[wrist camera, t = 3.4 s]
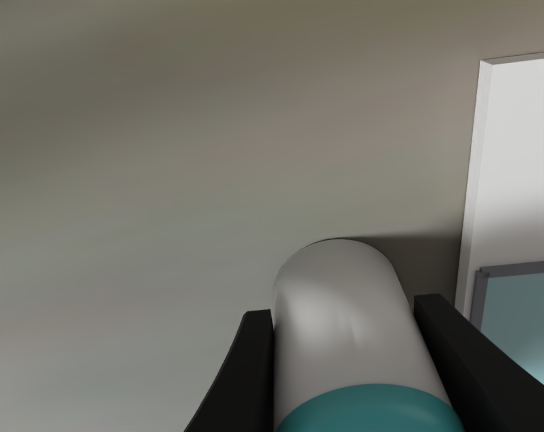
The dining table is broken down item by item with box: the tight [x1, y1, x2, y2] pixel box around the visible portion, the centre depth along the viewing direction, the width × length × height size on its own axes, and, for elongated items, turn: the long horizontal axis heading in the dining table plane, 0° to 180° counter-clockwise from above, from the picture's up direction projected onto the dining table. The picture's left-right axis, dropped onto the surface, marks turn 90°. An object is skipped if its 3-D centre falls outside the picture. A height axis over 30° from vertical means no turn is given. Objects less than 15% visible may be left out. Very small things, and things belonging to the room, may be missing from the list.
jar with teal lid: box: [274, 239, 466, 432], centre depth 10 cm, size 4×4×6 cm
